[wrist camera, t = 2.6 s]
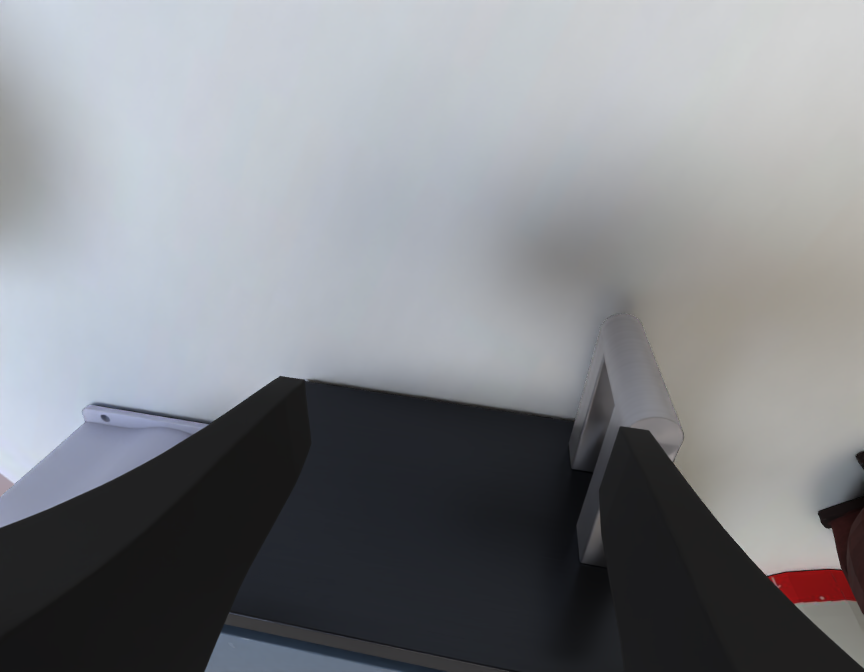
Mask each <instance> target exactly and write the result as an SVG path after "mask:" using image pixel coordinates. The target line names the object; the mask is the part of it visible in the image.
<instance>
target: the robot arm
mask: <svg viewBox="0 0 864 672" xmlns="http://www.w3.org/2000/svg"><path fill="white" fill-rule="evenodd" d="M82 415H83V417H84V420H85V423H84V424H83V425H81V426H80V427H79V428H78V429H77V430H76V431H75V432H73V433H72V434H71V435H70V436H69V437H68V438H67V439H65V440H64V441H63V442H62V443H61V444H60V445H59V446H57V447H56V448H55V449H54V450H53V451H52V452H51V453H49V454H48V455H47V456H46V457H45V458H44V459H43V460H41V461H40V462H39V463H38V464H37V465H36V466H35V467H33V468H32V469H31V470H30V471H29V472H28V473H27V474H25V475H24V476H23V477H22V478H21V479H20V480H19V481H17V482H16V483H15V484H14V485H13V486H12V487H11V488H10V489H8V490H7V491H6V492H5V493H4V494H3V495H2V496H1V497H0V672H205V670H206V667H207V665H208V662H209V660H210V657H211V655H212V652H213V650H214V647H215V645H216V643H217V640H218V638H219V635H220V633H221V630H222V628H223V626H224V623H225V621H226V619H227V616H228V614H229V612H230V609H231V607H232V605H233V603H234V600H235V598H236V596H237V593H238V591H239V589H240V586H241V584H242V582H243V580H244V578H245V576H246V574H247V572H248V570H249V568H250V566H251V565H252V563H253V561H254V559H255V557H256V556H257V554H258V552H259V550H260V548H261V547H262V545H263V543H264V541H265V539H266V537H267V536H268V534H269V532H270V530H271V528H272V527H273V525H274V523H275V521H276V519H277V518H278V516H279V514H280V512H281V510H282V508H283V507H284V505H285V503H286V501H287V499H288V497H289V496H290V494H291V492H292V490H293V488H294V486H295V484H296V482H297V480H298V478H299V475H300V473H301V470H302V468H303V465H304V463H305V460H306V458H307V455H308V452H309V450H310V447H311V444H312V443H311V434H310V424H309V415H308V406H307V397H306V388H305V380H303V379H296V378H289V377H283V376H280V377H278V378H277V379H275V380H273V381H272V382H270V383H269V384H267V385H266V386H264V387H263V388H262V389H260V390H259V391H257V392H256V393H254V394H253V395H252V396H250V397H249V398H247V399H246V400H244V401H243V402H241V403H240V404H239V405H237V406H236V407H234V408H233V409H231V410H230V411H228V412H227V413H225V414H224V415H222V416H221V417H219V418H218V419H216V420H215V421H213V422H212V423H210V424H203V423H197V422H191V421H185V420H179V419H173V418H167V417H161V416H155V415H149V414H143V413H137V412H131V411H125V410H118V409H112V408H106V407H100V406H94V405H88V406H86V407H85V408H84V409H83V410H82ZM599 506H600V524H601V536H602V542H603V548H604V554H605V560H606V565H607V571H608V577H609V582H610V588H611V593H612V599H613V604H614V610H615V615H616V621H617V626H618V632H619V637H620V644H621V651H622V658H623V666H624V672H864V668H863V667H862V666H860V665H859V664H858V663H857V662H856V661H855V660H854V659H853V658H852V657H850V656H849V655H848V654H847V653H846V652H845V651H844V650H843V649H842V648H840V647H839V646H838V645H837V644H836V643H835V642H834V641H833V640H832V639H831V638H829V637H828V636H827V635H826V634H825V633H824V632H823V631H822V630H821V629H820V628H818V627H817V626H816V625H815V624H814V623H813V622H812V621H811V620H810V619H809V618H808V617H807V616H806V615H805V614H804V613H803V612H802V611H801V610H800V609H799V608H798V607H797V606H796V605H795V604H794V603H793V602H792V601H791V600H790V599H789V598H788V597H787V596H786V595H785V594H784V593H783V592H782V591H781V590H780V589H779V588H778V587H777V586H776V585H775V584H774V583H773V582H772V581H771V580H770V579H769V578H768V577H767V576H766V575H765V574H764V573H763V572H762V571H761V570H760V569H759V568H758V566H757V565H756V564H755V563H754V562H753V561H752V560H751V559H750V558H749V557H748V556H747V554H746V553H745V552H744V551H743V550H742V549H741V547H740V546H739V545H738V544H737V543H736V542H735V541H734V539H733V538H732V537H731V536H730V535H729V534H728V533H727V531H726V530H725V529H724V528H723V527H722V526H721V524H720V523H719V522H718V521H717V519H716V518H715V517H714V516H713V514H712V513H711V512H710V511H709V509H708V508H707V507H706V506H705V504H704V503H703V502H702V501H701V499H700V498H699V497H698V495H697V494H696V493H695V492H694V490H693V489H692V488H691V486H690V485H689V484H688V482H687V481H686V480H685V478H684V477H683V476H682V474H681V473H680V472H679V470H678V469H677V468H676V466H675V465H674V463H673V462H672V461H671V459H670V458H669V457H668V455H667V454H666V452H665V451H664V450H663V448H662V447H661V446H660V444H659V443H658V441H657V440H656V439H655V437H654V436H653V435H652V433H651V432H650V431H649V430H644V429H638V428H631V427H624V426H620V427H619V431H618V434H617V437H616V440H615V443H614V446H613V449H612V452H611V455H610V458H609V461H608V464H607V467H606V470H605V473H604V476H603V479H602V482H601V485H600V488H599Z"/></svg>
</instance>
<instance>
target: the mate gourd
mask: <svg viewBox="0 0 864 672" xmlns="http://www.w3.org/2000/svg"><path fill="white" fill-rule="evenodd" d="M856 458H857V460H858V462H859V463H860V465H861V466H862V468H863V469H864V452H861V453H859V454H857V455H856ZM818 515H819V516H820V520H821V523H822V524H823V525H824V527H825V528H828V529H829V528H832V530H833V534H834V538H835V544H836V549H837V553H838V557H839V561H840V565H841V569H842V571H843V573H844V575H845V577H846V579H847V581H848V584H849V586H850V588H851V590H852V593H853V595H854V597H855V599H856V601H857V603H858V605H859V608H860V610H861V612H862V613H863V615H864V496H863V497H860V498H857V499H854V500H851V501H848V502H845V503H842V504H839V505H836V506H833V507H830V508H827V509H825V510H822V511H819V512H818Z"/></svg>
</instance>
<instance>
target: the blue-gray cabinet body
mask: <svg viewBox="0 0 864 672" xmlns="http://www.w3.org/2000/svg"><path fill="white" fill-rule="evenodd" d="M205 672H447V671H442V670H437V669H433V668H428V667H423V666H418V665H414V664H409V663H404V662H400V661H395V660H390V659H386V658H381V657H376V656H371V655H367V654H362V653H357V652H353V651H348V650H343V649H339V648H334V647H329V646H324V645H320V644H315V643H310V642H306V641H301V640H296V639H291V638H287V637H282V636H277V635H273V634H268V633H263V632H259V631H254V630H249V629H244V628H240V627H235V626H230V625H226V624H224V626H223V628H222V630H221V633H220V635H219V638H218V640H217V643H216V645H215V647H214V650H213V652H212V655H211V657H210V660H209V662H208V665H207V667H206V670H205Z"/></svg>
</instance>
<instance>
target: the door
mask: <svg viewBox="0 0 864 672" xmlns="http://www.w3.org/2000/svg"><path fill="white" fill-rule="evenodd" d="M305 388H306V397H307V406H308V415H309V424H310V434H311V443H312V444H311V447H310V450H309V452H308V455H307V458H306V460H305V463H304V465H303V468H302V470H301V473H300V475H299V478H298V480H297V482H296V484H295V486H294V488H293V490H292V492H291V494H290V496H289V497H288V499H287V501H286V503H285V505H284V507H283V508H282V510H281V512H280V514H279V516H278V518H277V519H276V521H275V523H274V525H273V527H272V528H271V530H270V532H269V534H268V536H267V537H266V539H265V541H264V543H263V545H262V547H261V548H260V550H259V552H258V554H257V556H256V557H255V559H254V561H253V563H252V565H251V566H250V568H249V570H248V572H247V574H246V576H245V578H244V580H243V582H242V584H241V586H240V589H239V591H238V593H237V596H236V598H235V600H234V603H233V605H232V607H231V609H230V612H229V614H228V616H227V619H226V621H225V623H224V624H226V625H230V626H235V627H240V628H244V629H249V630H254V631H259V632H263V633H268V634H273V635H277V636H282V637H287V638H291V639H296V640H301V641H306V642H310V643H315V644H320V645H324V646H329V647H334V648H339V649H343V650H348V651H353V652H357V653H362V654H367V655H371V656H376V657H381V658H386V659H390V660H395V661H400V662H404V663H409V664H414V665H418V666H423V667H428V668H433V669H437V670H442V671H447V672H624V666H623V658H622V651H621V644H620V637H619V632H618V626H617V621H616V615H615V610H614V604H613V599H612V593H611V588H610V582H609V577H608V571H607V565H606V560H605V554H604V548H603V542H602V536H601V524H600V506H599V488H600V485H601V482H602V479H603V476H604V473H605V470H606V467H607V464H608V461H609V458H610V455H611V452H612V449H613V446H614V443H615V440H616V437H617V434H618V431H619V427H620V426H624V427H631V428H638V429H644V430H649V431H650V432H651V433H652V435H653V436H654V437H655V439H656V440H657V441H658V443H659V444H660V446H661V447H662V448H663V450H664V451H665V452H666V454H667V455H668V457H669V458H670V459H671V461H672V462H674V460H675V457H676V455H677V453H678V450H679V448H680V446H681V445H682V442H683V439H684V433H683V430H682V427H681V425H680V422H679V419H678V417H677V414H676V411H675V409H674V406H673V404H672V401H671V398H670V396H669V393H668V390H667V388H666V385H665V383H664V380H663V377H662V375H661V372H660V370H659V367H658V364H657V362H656V359H655V356H654V354H653V351H652V349H651V346H650V343H649V341H648V338H647V335H646V333H645V330H644V328H643V325H642V323H641V321H640V320H639V319H638V318H637V317H635V316H633V315H630V314H625V313H620V314H615V315H612V316H610V317H609V318H607V319H606V320H605V321H604V322H603V323H602V325H601V327H600V329H599V334H598V338H597V341H596V345H595V349H594V352H593V356H592V360H591V363H590V367H589V371H588V374H587V378H586V382H585V386H584V389H583V393H582V397H581V400H580V404H579V408H578V411H577V415H576V419H575V422H573V421H566V420H560V419H553V418H546V417H540V416H533V415H527V414H520V413H513V412H507V411H500V410H493V409H487V408H480V407H474V406H467V405H460V404H454V403H447V402H440V401H434V400H427V399H420V398H414V397H407V396H401V395H394V394H387V393H381V392H374V391H367V390H361V389H354V388H347V387H341V386H334V385H328V384H321V383H314V382H308V381H305Z"/></svg>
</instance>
